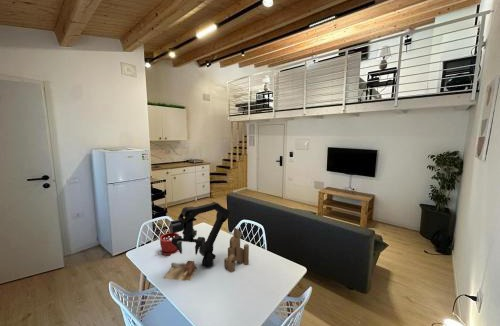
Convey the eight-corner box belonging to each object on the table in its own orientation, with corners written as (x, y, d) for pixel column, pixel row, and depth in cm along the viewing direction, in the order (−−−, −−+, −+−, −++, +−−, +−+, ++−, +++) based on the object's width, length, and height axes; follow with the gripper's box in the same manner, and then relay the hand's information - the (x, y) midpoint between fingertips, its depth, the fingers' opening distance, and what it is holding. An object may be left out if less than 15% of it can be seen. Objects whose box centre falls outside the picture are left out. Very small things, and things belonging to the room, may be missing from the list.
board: (197, 268, 139) (197, 263, 139) (189, 282, 126) (189, 276, 125) (173, 266, 141) (173, 261, 140) (162, 280, 127) (162, 274, 127)
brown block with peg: (194, 269, 136) (194, 261, 135) (187, 280, 125) (187, 271, 124) (188, 269, 136) (188, 260, 136) (180, 280, 125) (180, 271, 125)
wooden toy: (230, 273, 135) (230, 233, 132) (224, 268, 140) (224, 230, 137) (249, 263, 145) (250, 227, 142) (243, 259, 150) (243, 224, 147)
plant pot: (156, 254, 156) (155, 237, 154) (170, 246, 167) (170, 230, 166) (169, 259, 150) (169, 242, 148) (183, 250, 161) (183, 234, 160)
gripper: (207, 224, 137) (208, 248, 138) (178, 222, 139) (179, 246, 141) (201, 232, 126) (202, 258, 127) (170, 230, 128) (171, 255, 130)
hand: (188, 254), depth 132 cm, fingers open, 9 cm apart
